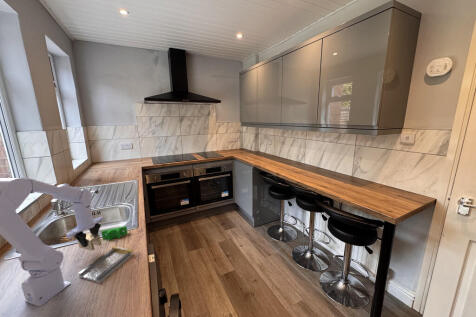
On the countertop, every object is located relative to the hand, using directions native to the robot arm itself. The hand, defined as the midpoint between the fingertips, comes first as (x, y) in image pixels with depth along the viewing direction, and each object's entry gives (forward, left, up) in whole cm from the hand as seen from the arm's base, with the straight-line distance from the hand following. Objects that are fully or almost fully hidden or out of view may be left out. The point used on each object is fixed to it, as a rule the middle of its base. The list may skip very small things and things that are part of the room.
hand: (89, 243), depth 86 cm
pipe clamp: (+13, +2, -7) cm, 15 cm away
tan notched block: (0, 0, -2) cm, 2 cm away
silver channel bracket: (-3, -13, -6) cm, 15 cm away
